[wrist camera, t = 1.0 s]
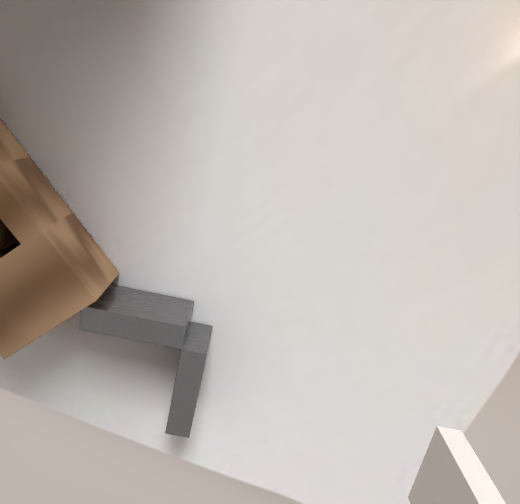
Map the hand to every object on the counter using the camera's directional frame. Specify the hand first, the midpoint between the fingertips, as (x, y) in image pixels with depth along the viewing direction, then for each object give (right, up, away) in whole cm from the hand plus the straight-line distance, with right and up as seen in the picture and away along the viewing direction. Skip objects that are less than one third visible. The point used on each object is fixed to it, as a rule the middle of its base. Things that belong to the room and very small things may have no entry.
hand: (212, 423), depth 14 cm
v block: (-7, -2, +28) cm, 29 cm away
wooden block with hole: (-19, +8, +25) cm, 33 cm away
